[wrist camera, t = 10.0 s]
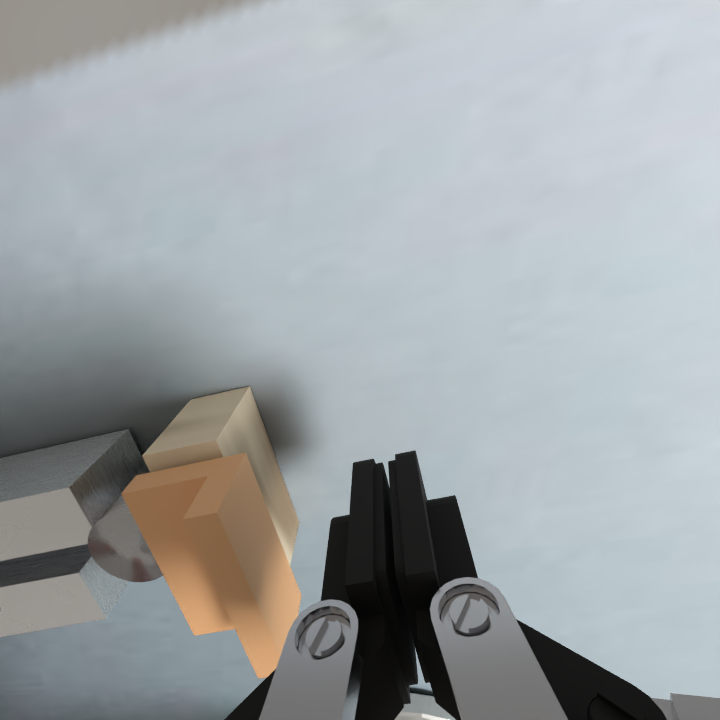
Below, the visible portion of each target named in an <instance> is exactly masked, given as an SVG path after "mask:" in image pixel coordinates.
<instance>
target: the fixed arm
mask: <svg viewBox="0 0 720 720" xmlns="http://www.w3.org/2000/svg"><path fill="white" fill-rule="evenodd" d="M128 583H129V581H126V580H123V579H120V578H117V577H115V576H113V575H111V574H109V573H107V572H106V571H105V570H103V569H102V568H101V567H100V566H99V565H98V564H97V563H96V562H95V561H94V559H93V558H92V556H91V554H90V551H89V548H88V544H84V545H79V546H74V547H69V548H64V549H59V550H54V551H49V552H44V553H39V554H34V555H29V556H24V557H18V558H13V559H8V560H3V561H0V637H3V636H9V635H15V634H21V633H27V632H32V631H38V630H44V629H50V628H56V627H61V626H67V625H73V624H79V623H85V622H90V621H96V620H102V619H106V618H107V617H108V615H109V614H110V612H111V610H112V609H113V607H114V605H115V604H116V602H117V601H118V599H119V597H120V596H121V594H122V593H123V591H124V589H125V588H126V586H127V584H128Z"/></svg>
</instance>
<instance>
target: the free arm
mask: <svg viewBox="0 0 720 720" xmlns="http://www.w3.org/2000/svg"><path fill="white" fill-rule="evenodd" d="M145 473H150V471H149V469H148V467H147V465H146V463H145V462H144V460H143V458H142V456H141V454H140V452H139V450H138V448H137V445H136V443H135V441H134V439H133V437H132V435H131V433H130V431H129V429H126V430H122V431H117V432H113V433H109V434H104V435H100V436H95V437H91V438H87V439H82V440H78V441H73V442H69V443H64V444H60V445H56V446H51V447H47V448H42V449H38V450H33V451H29V452H25V453H20V454H16V455H11V456H7V457H3V458H0V561H3V560H8V559H13V558H18V557H24V556H29V555H34V554H39V553H44V552H49V551H54V550H59V549H64V548H69V547H74V546H79V545H84V544H88V548H89V551H90V554H91V556H92V558H93V559H94V561H95V562H96V563H97V564H98V565H99V566H100V567H101V568H102V569H103V570H105V571H106V572H107V573H109V574H111V575H113V576H115V577H117V578H120V579H123V580H126V581H132V582H146V581H151V580H154V579H157V578H159V577H161V576H162V575H163V574H162V572H161V570H160V568H159V566H158V564H157V562H156V560H155V558H154V556H153V554H152V552H151V550H150V549H149V547H148V545H147V543H146V541H145V539H144V537H143V535H142V533H141V531H140V529H139V527H138V525H137V523H136V522H135V520H134V518H133V516H132V514H131V512H130V510H129V508H128V506H127V504H126V502H125V500H124V498H123V496H122V495H121V493H122V492H123V491H124V490H125V488H126V487H127V486H128V485H129V483H130V482H131V481H132V480H133V479H134V477H135V476H136V475H140V474H145Z"/></svg>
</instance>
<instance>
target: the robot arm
mask: <svg viewBox="0 0 720 720" xmlns="http://www.w3.org/2000/svg"><path fill="white" fill-rule="evenodd" d="M388 465H389V482H390V488H389V484H388V480H387V476H386V473H385V469H384V465H383V463H378V464H376V463H375V461H374V459H370V460H365V461H359V462H354V463H353V471H352V486H351V500H350V515H346V516H340V517H335V518H332V520H331V524H330V532H329V540H328V548H327V556H326V564H325V572H324V580H323V589H322V597H321V601H320V602H317V603H315V604H313V605H311V606H309V607H308V608H307V609H305V610H304V611H303V612H301V613H300V614H299V616H298V617H297V618H296V619H295V620H294V622H293V624H292V626H291V628H290V630H289V632H288V635H287V638H286V641H285V644H284V647H283V650H282V653H281V656H280V659H279V661H278V664H277V667H276V669H275V670H274V671H273V672H272V673H271V674H270V675H269V676H268V677H267V678H266V679H265V680H264V681H263V682H262V683H261V684H260V685H259V686H258V687H257V688H256V689H255V690H254V691H253V692H252V693H251V694H250V695H249V696H248V697H247V698H246V699H245V700H244V701H243V702H242V703H241V704H240V705H239V706H238V707H237V708H236V709H235V710H234V711H233V712H232V713H231V714H230V715H229V716H228V717H227V718H225V719H224V720H720V698H711V697H702V696H692V695H682V694H672V693H670V700H664V699H655V698H650V697H649V696H648V695H646V694H645V693H644V692H642V691H641V690H639V689H638V688H637V687H635V686H634V685H632V684H630V683H628V682H627V681H625V680H623V679H621V678H620V677H618V676H616V675H614V674H612V673H611V672H609V671H607V670H605V669H604V668H602V667H600V666H598V665H597V664H595V663H593V662H591V661H589V660H588V659H586V658H584V657H582V656H581V655H579V654H577V653H575V652H573V651H572V650H570V649H568V648H566V647H565V646H563V645H561V644H559V643H557V642H556V641H554V640H552V639H550V638H549V637H547V636H545V635H543V634H542V633H540V632H538V631H536V630H534V629H533V628H531V627H529V626H527V625H526V624H524V623H522V622H520V621H518V620H517V619H516V618H515V617H514V615H513V613H512V611H511V609H510V607H509V605H508V603H507V601H506V599H505V597H504V596H503V595H502V593H501V592H500V591H499V589H498V588H496V587H495V586H494V585H492V584H491V583H489V582H487V581H484V580H482V579H479V578H478V576H477V573H476V569H475V565H474V562H473V558H472V554H471V551H470V547H469V543H468V540H467V536H466V532H465V529H464V525H463V521H462V518H461V514H460V510H459V507H458V503H457V499H456V496H455V495H454V496H449V497H444V498H438V499H433V500H427V498H426V493H425V489H424V485H423V481H422V476H421V472H420V468H419V463H418V459H417V455H416V451H410V452H405V453H400V454H395V460H393V461H389V462H388ZM415 648H416V652H417V655H418V659H419V662H420V666H421V670H422V673H423V677H424V680H425V682H426V683H428V682H430V684H431V688H432V691H433V695H434V696H429V695H422V694H416V693H410V687H409V685H414V684H418V675H417V664H416V654H415Z"/></svg>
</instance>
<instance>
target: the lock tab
mask: <svg viewBox="0 0 720 720" xmlns="http://www.w3.org/2000/svg"><path fill="white" fill-rule="evenodd" d="M121 495H122V496H123V498H124V500H125V502H126V504H127V506H128V508H129V510H130V512H131V514H132V516H133V518H134V520H135V522H136V523H137V525H138V527H139V529H140V531H141V533H142V535H143V537H144V539H145V541H146V543H147V545H148V547H149V549H150V550H151V552H152V554H153V556H154V558H155V560H156V562H157V564H158V566H159V568H160V570H161V572H162V574H163V576H164V578H165V579H166V581H167V583H168V585H169V587H170V589H171V591H172V593H173V595H174V597H175V599H176V601H177V603H178V605H179V606H180V608H181V610H182V612H183V614H184V616H185V618H186V620H187V622H188V624H189V626H190V628H191V630H192V632H193V634H194V635H201V634H207V633H213V632H219V631H225V630H231V629H235V630H236V632H237V634H238V636H239V639H240V641H241V643H242V645H243V647H244V649H245V651H246V653H247V656H248V658H249V660H250V662H251V664H252V666H253V668H254V670H255V672H256V675H257V677H258V678H265V677H268V676H269V675H270V674H271V673H272V672H273V671H274V670H275V669H276V667H277V664H278V661H279V659H280V656H281V653H282V650H283V647H284V644H285V641H286V638H287V635H288V632H289V630H290V628H291V626H292V624H293V622H294V620H295V619H296V618H297V617H298V612H299V607H300V601H301V593H300V591H299V588H298V585H297V583H296V580H295V578H294V575H293V573H292V570H291V567H290V565H289V562H288V560H287V557H286V555H285V552H284V549H283V547H282V544H281V542H280V539H279V537H278V534H277V531H276V529H275V526H274V524H273V521H272V519H271V516H270V513H269V511H268V508H267V506H266V503H265V501H264V498H263V495H262V493H261V490H260V488H259V485H258V483H257V480H256V477H255V475H254V472H253V470H252V467H251V465H250V462H249V459H248V457H247V454H246V453H241V454H237V455H232V456H227V457H222V458H217V459H213V460H208V461H203V462H198V463H193V464H189V465H184V466H179V467H174V468H169V469H165V470H160V471H155V472H150V473H145V474H140V475H136V476H135V477H134V479H133V480H132V481H131V482H130V483H129V485H128V486H127V487H126V488H125V490H124V491H123V492H122V493H121Z"/></svg>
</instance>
